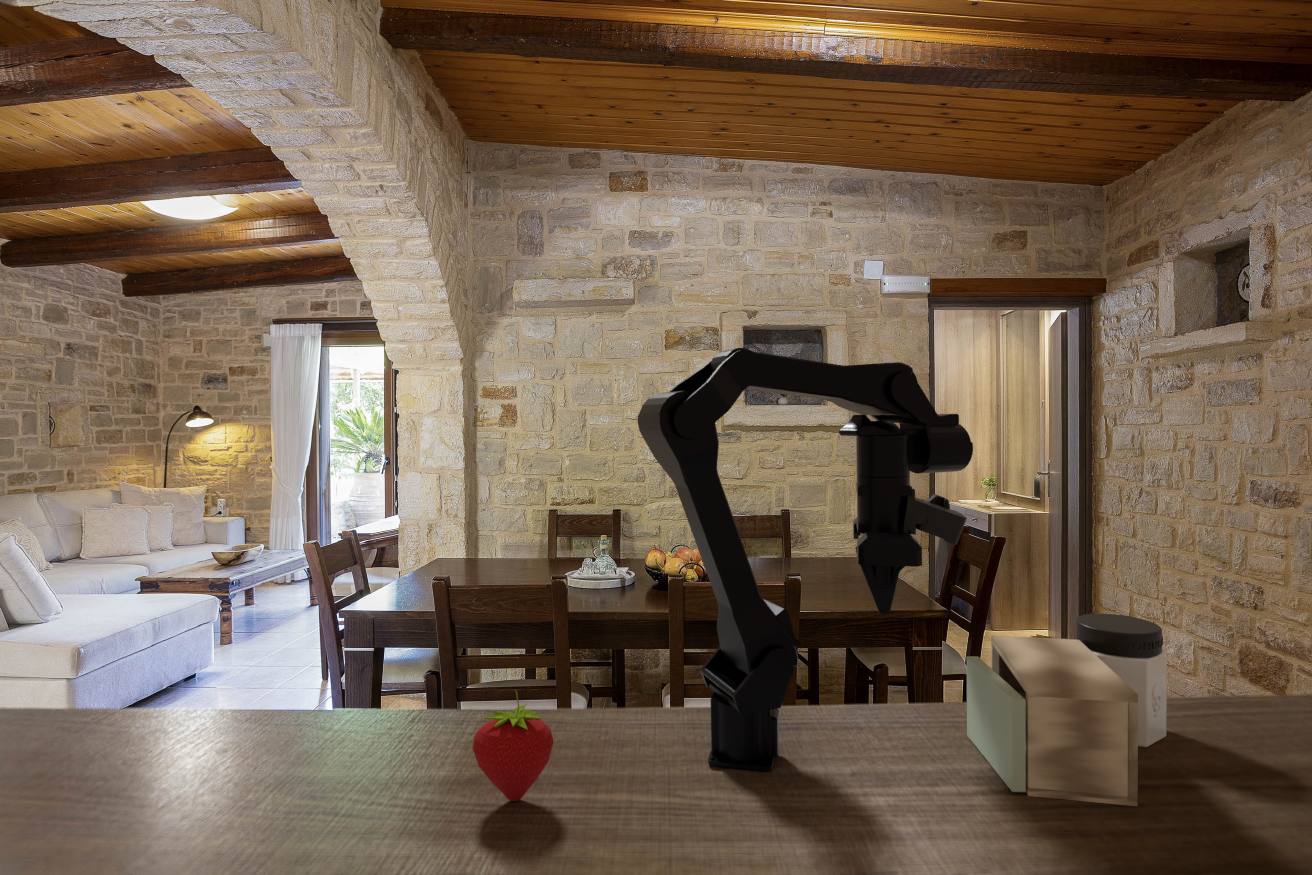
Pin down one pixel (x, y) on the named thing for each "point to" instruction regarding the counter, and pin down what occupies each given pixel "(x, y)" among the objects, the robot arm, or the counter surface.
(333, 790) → the counter surface
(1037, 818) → the counter surface
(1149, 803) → the counter surface
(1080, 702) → the cabinet
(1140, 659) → the jar
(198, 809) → the counter surface
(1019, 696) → the door
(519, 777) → the strawberry
